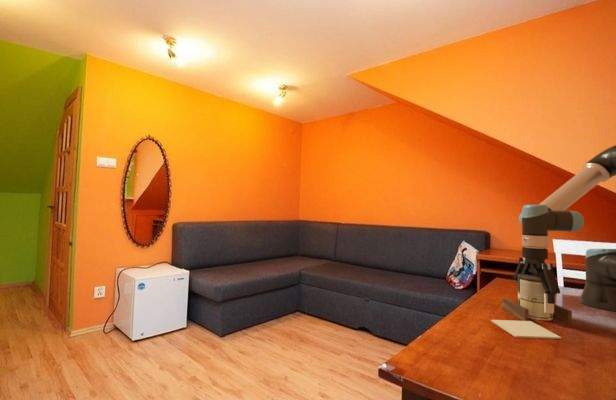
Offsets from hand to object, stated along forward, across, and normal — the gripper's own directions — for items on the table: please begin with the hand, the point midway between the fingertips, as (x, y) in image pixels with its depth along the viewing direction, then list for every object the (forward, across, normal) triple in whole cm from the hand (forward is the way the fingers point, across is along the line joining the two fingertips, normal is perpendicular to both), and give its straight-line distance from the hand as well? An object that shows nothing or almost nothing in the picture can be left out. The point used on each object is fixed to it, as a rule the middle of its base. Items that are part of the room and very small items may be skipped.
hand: (534, 306), depth 109 cm
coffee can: (+4, 0, 0) cm, 4 cm away
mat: (+3, +14, -13) cm, 19 cm away
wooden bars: (+3, 0, 0) cm, 3 cm away
